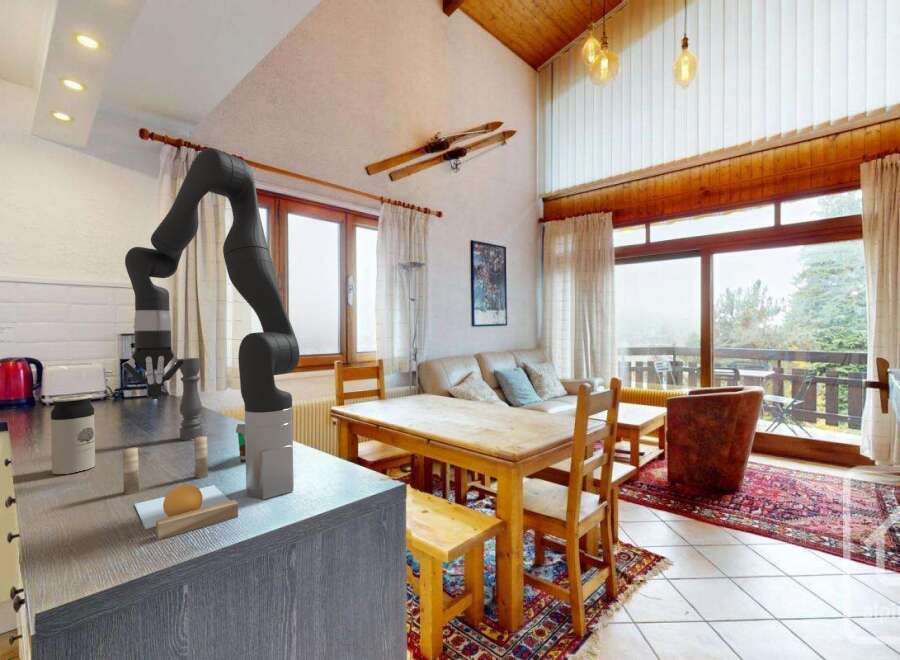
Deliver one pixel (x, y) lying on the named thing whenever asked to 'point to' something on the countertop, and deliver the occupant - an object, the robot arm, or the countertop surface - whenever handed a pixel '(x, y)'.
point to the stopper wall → (196, 519)
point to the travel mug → (72, 434)
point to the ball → (182, 500)
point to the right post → (201, 457)
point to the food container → (241, 441)
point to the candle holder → (190, 400)
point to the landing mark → (155, 511)
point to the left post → (130, 470)
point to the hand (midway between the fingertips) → (154, 398)
